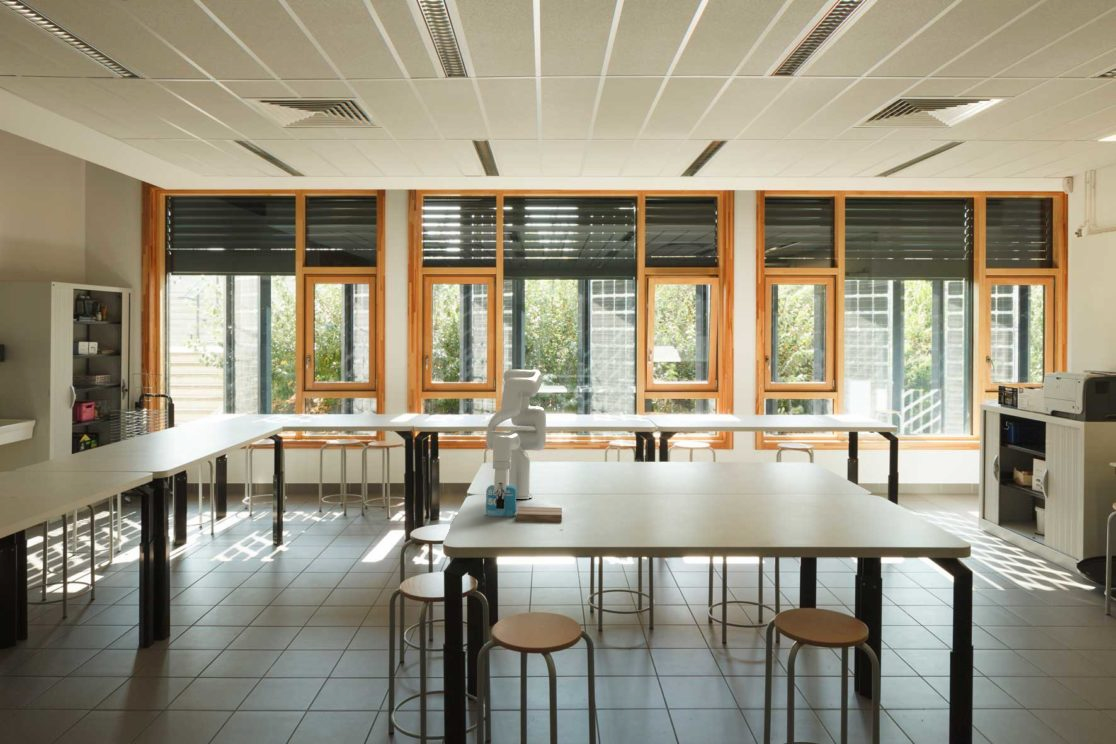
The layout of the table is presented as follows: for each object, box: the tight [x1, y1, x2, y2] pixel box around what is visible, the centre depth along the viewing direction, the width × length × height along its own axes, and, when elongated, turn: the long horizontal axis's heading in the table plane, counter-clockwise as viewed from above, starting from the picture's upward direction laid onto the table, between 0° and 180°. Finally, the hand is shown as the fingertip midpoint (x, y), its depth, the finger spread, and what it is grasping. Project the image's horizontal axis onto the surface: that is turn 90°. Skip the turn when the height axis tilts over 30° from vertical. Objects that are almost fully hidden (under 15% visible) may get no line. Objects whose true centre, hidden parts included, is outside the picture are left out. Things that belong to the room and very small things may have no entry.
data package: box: [485, 484, 517, 517], centre depth 313 cm, size 12×4×12 cm, turn 87°
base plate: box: [515, 506, 563, 523], centre depth 309 cm, size 14×18×3 cm
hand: (501, 506), depth 313 cm, fingers open, 9 cm apart
